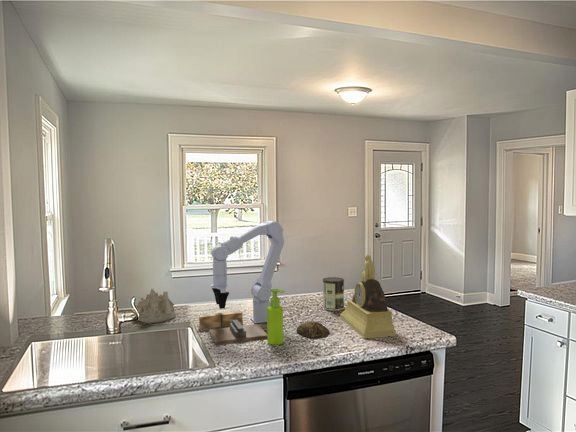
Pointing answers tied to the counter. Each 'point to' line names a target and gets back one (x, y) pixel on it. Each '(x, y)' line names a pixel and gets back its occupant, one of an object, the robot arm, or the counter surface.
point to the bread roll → (312, 330)
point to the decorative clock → (369, 307)
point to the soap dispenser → (275, 319)
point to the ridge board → (231, 338)
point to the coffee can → (333, 293)
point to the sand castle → (155, 308)
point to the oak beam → (219, 319)
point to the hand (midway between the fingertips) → (220, 306)
